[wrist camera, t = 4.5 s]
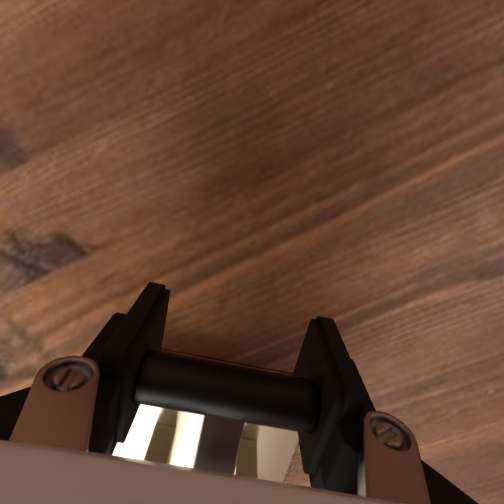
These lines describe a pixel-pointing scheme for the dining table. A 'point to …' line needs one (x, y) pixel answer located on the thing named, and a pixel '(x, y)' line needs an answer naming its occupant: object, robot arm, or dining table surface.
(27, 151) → the dining table surface
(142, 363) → the switch lever
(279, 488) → the robot arm
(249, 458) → the switch bracket
